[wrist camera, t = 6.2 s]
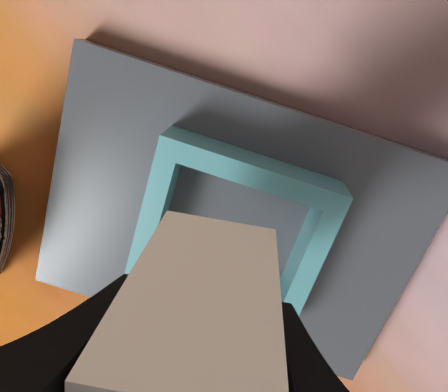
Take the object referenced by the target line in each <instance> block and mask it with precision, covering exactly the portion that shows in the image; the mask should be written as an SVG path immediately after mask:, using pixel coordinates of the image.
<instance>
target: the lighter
mask: <svg viewBox="0 0 448 392" xmlns="http://www.w3.org/2000/svg"><path fill="white" fill-rule="evenodd" d="M14 224H15V193H14V182H13V178H12V175H11V174H10V173H9V171H8V170H7V169H6V168H5V167H4V166H3V165H1V164H0V273H1V272H2V270H3V267H4V265H5V262H6V259H7V257H8V254H9V251H10V247H11V242H12V238H13V233H14Z"/></svg>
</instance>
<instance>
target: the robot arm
mask: <svg viewBox="0 0 448 392" xmlns="http://www.w3.org/2000/svg"><path fill="white" fill-rule="evenodd" d="M128 275H129V274H123V275H122V276H120V277H119V278H117V279H116V280H114V281H113V282H112V283H110V284H109V285H107V286H106V287H105V288H103V289H102V290H100V291H99V292H98V293H96V294H95V295H93V296H92V297H90V298H89V299H87V300H86V301H85V302H83V303H82V304H80V305H79V306H77V307H76V308H74V309H72V310H71V311H69V312H67V313H66V314H64V315H63V316H61V317H59V318H58V319H56V320H54V321H53V322H51V323H49V324H47V325H45V326H43V327H41V328H40V329H38V330H36V331H34V332H32V333H30V334H28V335H25V336H23V337H21V338H19V339H17V340H15V341H12V342H10V343H8V344H5V345H3V346H0V392H65V380H66V378H67V376H68V375H69V373H70V371H71V370H72V368H73V366H74V365H75V363H76V361H77V360H78V358H79V356H80V355H81V353H82V351H83V350H84V348H85V346H86V345H87V343H88V341H89V340H90V338H91V336H92V335H93V333H94V331H95V330H96V328H97V326H98V325H99V323H100V321H101V320H102V318H103V316H104V315H105V313H106V311H107V310H108V308H109V306H110V305H111V303H112V301H113V300H114V298H115V296H116V295H117V293H118V291H119V290H120V288H121V286H122V285H123V283H124V281H125V280H126V278H127V276H128ZM282 313H283V325H284V338H285V350H286V363H287V375H288V388H289V392H349V390H348V389H347V388H346V387H345V386H344V385H343V383H342V382H341V381H340V380H339V378H338V377H337V376H336V374H335V373H334V371H333V370H332V369H331V367H330V366H329V365H328V363H327V362H326V360H325V359H324V357H323V356H322V354H321V353H320V351H319V350H318V348H317V346H316V345H315V343H314V342H313V340H312V338H311V337H310V335H309V333H308V332H307V330H306V328H305V327H304V325H303V323H302V321H301V319H300V318H299V316H298V314H297V312H296V310H295V308H294V307H293V305H292V304H291V303H286V302H282Z"/></svg>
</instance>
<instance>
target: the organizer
mask: <svg viewBox="0 0 448 392" xmlns="http://www.w3.org/2000/svg"><path fill="white" fill-rule="evenodd" d="M166 211H173V212H179V213H184V214H190V215H196V216H202V217H208V218H213V219H219V220H225V221H231V222H236V223H242V224H248V225H254V226H260V227H265V228H271V229H276V238H277V251H278V263H279V276H280V288H281V300H282V302H286V303H291V304H292V305H293V307H294V308H295V310H296V312H297V314H298V316H299V318H300V319H301V321H302V323H303V325H304V327H305V328H306V330H307V332H308V333H309V335H310V337H311V338H312V340H313V342H314V343H315V345H316V346H317V348H318V350H319V351H320V353H321V354H322V356H323V357H324V359H325V360H326V362H327V363H328V365H329V366H330V367H331V369H332V370H333V371H334V373H335V374H336V375H337V376H340V377H343V378H346V379H349V380H353V378H354V376H355V375H356V373H357V371H358V369H359V367H360V366H361V364H362V362H363V360H364V359H365V357H366V355H367V353H368V352H369V350H370V348H371V346H372V344H373V343H374V341H375V339H376V337H377V336H378V334H379V332H380V330H381V328H382V327H383V325H384V323H385V321H386V320H387V318H388V316H389V314H390V313H391V311H392V309H393V307H394V305H395V304H396V302H397V300H398V298H399V297H400V295H401V293H402V291H403V290H404V288H405V286H406V284H407V282H408V281H409V279H410V277H411V275H412V274H413V272H414V270H415V268H416V266H417V265H418V263H419V261H420V259H421V258H422V256H423V254H424V252H425V251H426V249H427V247H428V245H429V243H430V242H431V240H432V238H433V236H434V235H435V233H436V231H437V229H438V227H439V226H440V224H441V222H442V220H443V219H444V217H445V215H446V213H447V212H448V160H447V159H444V158H441V157H438V156H435V155H432V154H429V153H426V152H423V151H420V150H417V149H414V148H411V147H408V146H405V145H402V144H399V143H396V142H393V141H390V140H387V139H384V138H381V137H378V136H375V135H372V134H369V133H366V132H363V131H360V130H357V129H354V128H351V127H348V126H345V125H342V124H339V123H336V122H333V121H330V120H327V119H324V118H321V117H318V116H315V115H312V114H309V113H306V112H303V111H300V110H297V109H294V108H290V107H287V106H284V105H281V104H278V103H275V102H272V101H269V100H266V99H263V98H260V97H257V96H254V95H251V94H248V93H245V92H242V91H239V90H236V89H233V88H230V87H227V86H224V85H221V84H218V83H215V82H212V81H209V80H206V79H203V78H200V77H197V76H194V75H191V74H188V73H185V72H182V71H179V70H176V69H173V68H170V67H167V66H164V65H161V64H158V63H155V62H152V61H149V60H146V59H143V58H140V57H137V56H133V55H130V54H127V53H124V52H121V51H118V50H115V49H112V48H109V47H106V46H103V45H100V44H97V43H94V42H91V41H88V40H85V39H74V42H73V48H72V55H71V61H70V67H69V74H68V80H67V86H66V92H65V99H64V105H63V111H62V117H61V124H60V130H59V136H58V142H57V149H56V155H55V161H54V167H53V174H52V180H51V186H50V192H49V199H48V205H47V211H46V217H45V224H44V230H43V236H42V242H41V249H40V255H39V261H38V267H37V274H36V280H37V281H41V282H44V283H47V284H50V285H53V286H56V287H60V288H63V289H66V290H69V291H72V292H75V293H78V294H82V295H85V296H88V297H92V296H93V295H95V294H96V293H98V292H99V291H100V290H102V289H103V288H105V287H106V286H107V285H109V284H110V283H112V282H113V281H114V280H116V279H117V278H119V277H120V276H122V275H123V274H129V273H130V271H131V270H132V268H133V266H134V265H135V263H136V261H137V260H138V258H139V256H140V255H141V253H142V251H143V250H144V248H145V246H146V245H147V243H148V241H149V240H150V238H151V236H152V235H153V233H154V231H155V230H156V228H157V226H158V225H159V223H160V221H161V220H162V218H163V216H164V215H165V213H166Z"/></svg>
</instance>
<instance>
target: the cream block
mask: <svg viewBox="0 0 448 392" xmlns="http://www.w3.org/2000/svg"><path fill="white" fill-rule="evenodd" d="M65 392H289V388H288V375H287V363H286V350H285V338H284V325H283V313H282V300H281V288H280V276H279V263H278V251H277V238H276V229H271V228H265V227H260V226H254V225H248V224H242V223H236V222H231V221H225V220H219V219H213V218H208V217H202V216H196V215H190V214H184V213H179V212H173V211H166V213H165V215H164V216H163V218H162V220H161V221H160V223H159V225H158V226H157V228H156V230H155V231H154V233H153V235H152V236H151V238H150V240H149V241H148V243H147V245H146V246H145V248H144V250H143V251H142V253H141V255H140V256H139V258H138V260H137V261H136V263H135V265H134V266H133V268H132V270H131V271H130V273H129V275H128V276H127V278H126V280H125V281H124V283H123V285H122V286H121V288H120V290H119V291H118V293H117V295H116V296H115V298H114V300H113V301H112V303H111V305H110V306H109V308H108V310H107V311H106V313H105V315H104V316H103V318H102V320H101V321H100V323H99V325H98V326H97V328H96V330H95V331H94V333H93V335H92V336H91V338H90V340H89V341H88V343H87V345H86V346H85V348H84V350H83V351H82V353H81V355H80V356H79V358H78V360H77V361H76V363H75V365H74V366H73V368H72V370H71V371H70V373H69V375H68V376H67V378H66V380H65Z"/></svg>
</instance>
